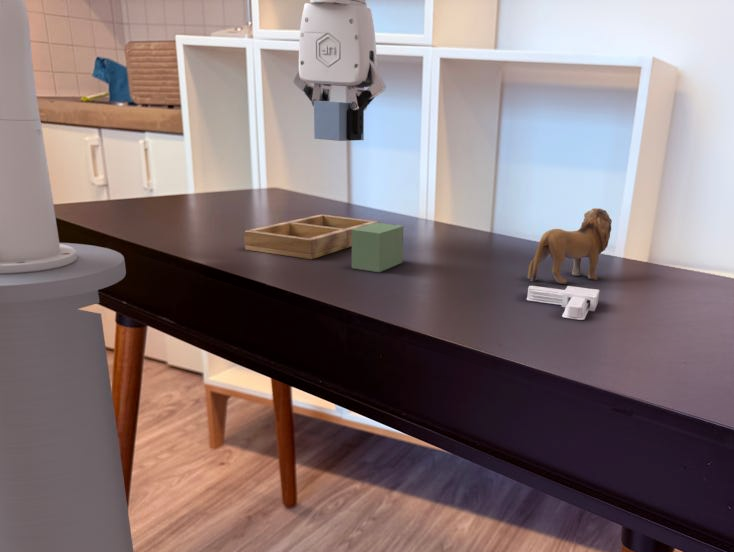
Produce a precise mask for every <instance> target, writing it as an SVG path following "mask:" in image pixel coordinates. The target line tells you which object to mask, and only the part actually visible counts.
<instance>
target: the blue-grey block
mask: <svg viewBox="0 0 734 552" xmlns="http://www.w3.org/2000/svg"><path fill="white" fill-rule="evenodd" d="M347 110H350V103H349V102H344V101H343V102H341V101H315V100H314V107H313V131H314V132H313V134H314V135H313V136H314V140H323V141H324V140H326V141H335V142H337V141H338V142H348V141H350V142H351V141H352V142H353V141H354V140H348V139H347ZM364 124H365V111H363V133H362V135H361V140H360V141H364V140H365V137H364V135H365V133H364V132H365V131H364V129H365V125H364Z"/></svg>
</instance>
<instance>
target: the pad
mask: <svg viewBox="0 0 734 552" xmlns="http://www.w3.org/2000/svg"><path fill="white" fill-rule="evenodd" d="M403 255H404V225H399V224H393V223H392V224H391V223H383V222H379V223H374V224H370V225H366V226H363V227H359V228H356V229H352V246H351V269H354V270H360V271H367V272H374V273H381V272H383V271H386V270H389V269H390V268H391V269H392V268H393V267H396V266H398V265H400V264H403Z"/></svg>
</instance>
